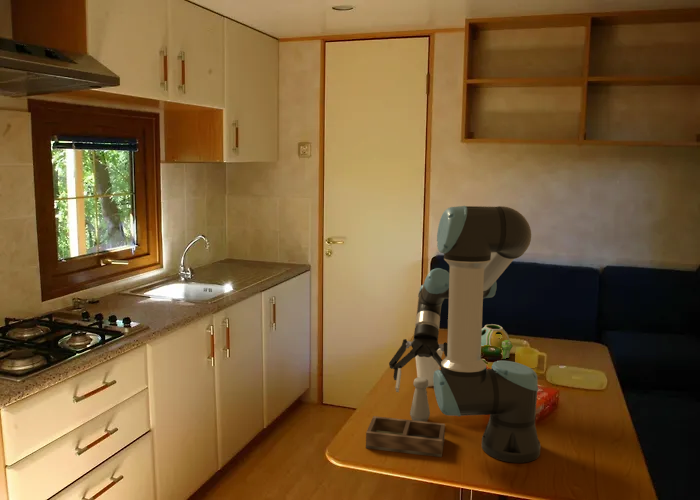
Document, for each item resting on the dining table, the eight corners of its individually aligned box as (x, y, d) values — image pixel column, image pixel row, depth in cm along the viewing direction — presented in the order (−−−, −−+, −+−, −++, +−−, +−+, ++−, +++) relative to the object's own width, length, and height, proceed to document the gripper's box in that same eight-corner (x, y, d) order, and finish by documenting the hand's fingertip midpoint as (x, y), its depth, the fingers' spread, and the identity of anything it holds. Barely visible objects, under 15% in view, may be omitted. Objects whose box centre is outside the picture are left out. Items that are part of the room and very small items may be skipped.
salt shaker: (428, 426, 177) (430, 383, 175) (408, 424, 178) (410, 381, 176) (430, 417, 183) (431, 376, 181) (411, 415, 184) (412, 374, 182)
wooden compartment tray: (444, 438, 170) (445, 423, 169) (441, 457, 159) (442, 441, 159) (373, 430, 174) (373, 416, 173) (365, 448, 164) (366, 432, 163)
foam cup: (440, 378, 214) (442, 342, 212) (442, 388, 205) (443, 351, 203) (413, 377, 215) (414, 341, 213) (413, 387, 206) (414, 350, 204)
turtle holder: (493, 368, 225) (495, 336, 223) (469, 352, 242) (470, 323, 240) (522, 364, 229) (524, 333, 227) (497, 349, 246) (498, 320, 244)
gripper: (467, 337, 193) (463, 401, 181) (388, 331, 199) (379, 393, 187) (467, 325, 187) (463, 391, 175) (386, 319, 193) (376, 383, 181)
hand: (420, 392), depth 181 cm, fingers open, 13 cm apart
